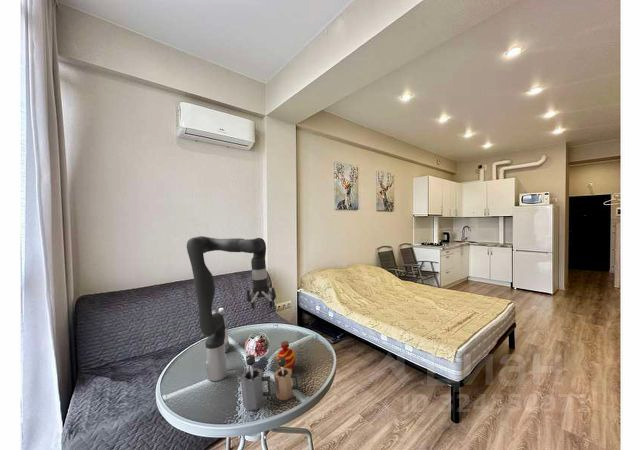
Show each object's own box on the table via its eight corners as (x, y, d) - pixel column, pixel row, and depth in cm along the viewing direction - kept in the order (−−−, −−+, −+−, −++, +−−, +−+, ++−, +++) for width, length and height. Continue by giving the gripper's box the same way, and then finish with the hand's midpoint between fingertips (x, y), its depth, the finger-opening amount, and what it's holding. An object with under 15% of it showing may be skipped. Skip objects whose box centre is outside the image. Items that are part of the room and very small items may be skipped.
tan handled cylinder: (275, 400, 115) (273, 379, 114) (278, 388, 122) (276, 368, 122) (298, 398, 115) (296, 377, 114) (299, 387, 122) (297, 366, 122)
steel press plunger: (248, 400, 113) (244, 359, 112) (251, 394, 116) (247, 355, 115) (257, 400, 113) (253, 359, 112) (259, 393, 116) (255, 354, 115)
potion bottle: (293, 376, 130) (291, 348, 130) (274, 375, 133) (272, 347, 132) (299, 364, 141) (297, 338, 140) (281, 363, 143) (279, 337, 142)
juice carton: (214, 356, 156) (210, 313, 154) (214, 348, 166) (209, 308, 164) (229, 352, 159) (225, 310, 158) (228, 345, 169) (224, 305, 168)
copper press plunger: (280, 393, 117) (277, 362, 116) (281, 388, 120) (278, 357, 119) (287, 393, 117) (284, 361, 116) (288, 387, 120) (285, 357, 119)
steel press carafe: (241, 411, 110) (238, 382, 109) (247, 396, 119) (244, 369, 118) (270, 408, 110) (267, 379, 109) (273, 394, 119) (271, 367, 118)
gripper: (243, 280, 126) (246, 312, 127) (272, 278, 126) (275, 310, 127) (247, 276, 134) (250, 306, 134) (275, 274, 134) (277, 304, 134)
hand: (262, 308), depth 131 cm, fingers open, 8 cm apart
